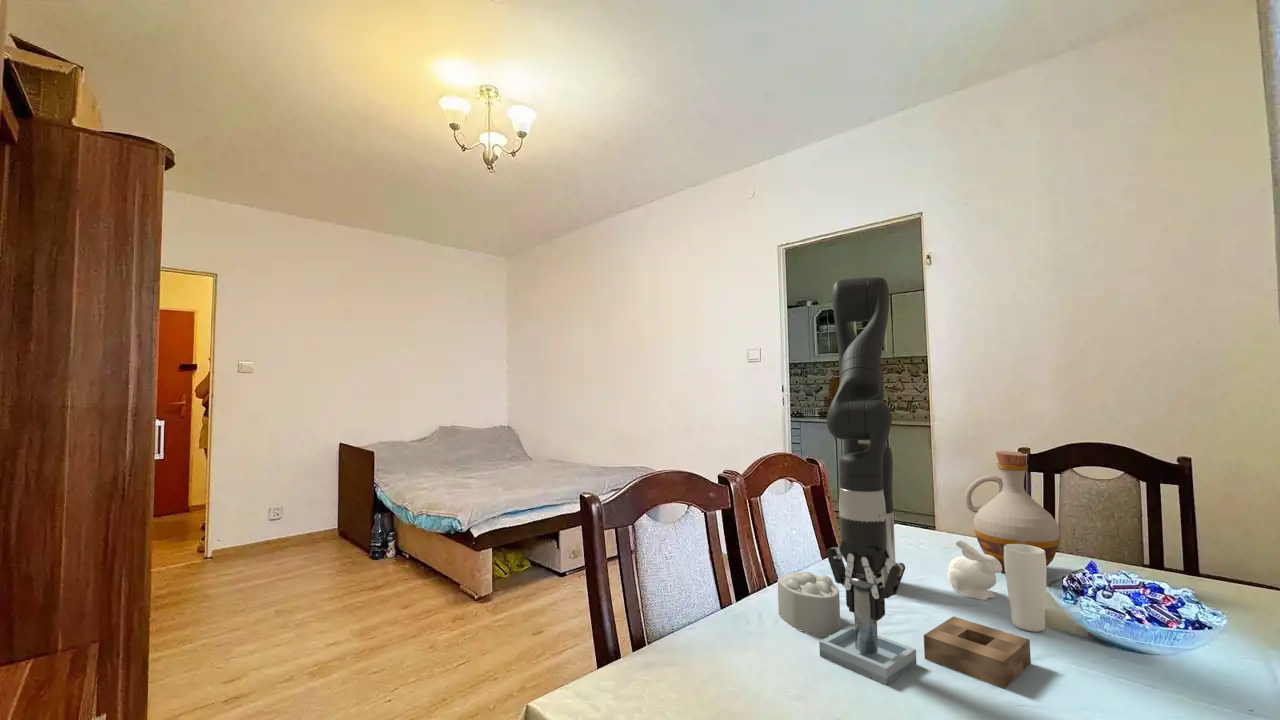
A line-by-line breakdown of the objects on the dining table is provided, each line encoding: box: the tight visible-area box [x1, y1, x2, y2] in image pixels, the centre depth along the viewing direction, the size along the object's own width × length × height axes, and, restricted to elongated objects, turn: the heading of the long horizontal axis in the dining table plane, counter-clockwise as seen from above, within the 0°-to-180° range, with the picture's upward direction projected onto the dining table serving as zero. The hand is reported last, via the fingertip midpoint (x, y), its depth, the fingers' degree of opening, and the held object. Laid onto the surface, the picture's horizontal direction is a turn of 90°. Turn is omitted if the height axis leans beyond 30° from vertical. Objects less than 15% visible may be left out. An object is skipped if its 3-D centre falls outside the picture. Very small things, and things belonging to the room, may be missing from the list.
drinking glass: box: [1004, 544, 1048, 633], centre depth 105 cm, size 7×7×15 cm
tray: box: [818, 625, 917, 686], centre depth 92 cm, size 12×10×2 cm
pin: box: [849, 574, 879, 654], centre depth 93 cm, size 5×5×12 cm
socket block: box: [923, 616, 1032, 689], centre depth 92 cm, size 12×12×4 cm
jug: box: [964, 450, 1061, 575], centre depth 136 cm, size 20×18×30 cm
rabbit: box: [947, 540, 1002, 601], centre depth 122 cm, size 12×9×12 cm
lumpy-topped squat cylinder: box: [777, 571, 841, 637], centre depth 108 cm, size 10×13×9 cm
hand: (865, 614), depth 93 cm, fingers closed on pin, 3 cm apart
